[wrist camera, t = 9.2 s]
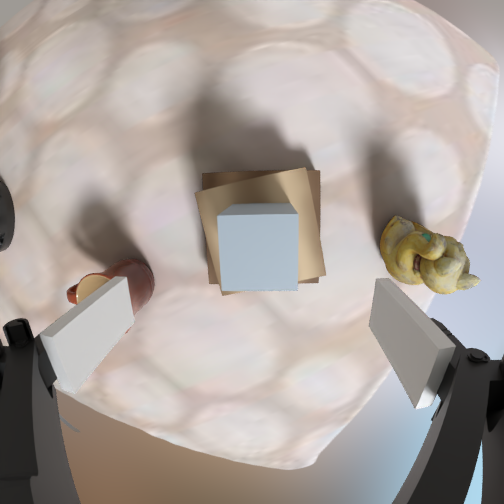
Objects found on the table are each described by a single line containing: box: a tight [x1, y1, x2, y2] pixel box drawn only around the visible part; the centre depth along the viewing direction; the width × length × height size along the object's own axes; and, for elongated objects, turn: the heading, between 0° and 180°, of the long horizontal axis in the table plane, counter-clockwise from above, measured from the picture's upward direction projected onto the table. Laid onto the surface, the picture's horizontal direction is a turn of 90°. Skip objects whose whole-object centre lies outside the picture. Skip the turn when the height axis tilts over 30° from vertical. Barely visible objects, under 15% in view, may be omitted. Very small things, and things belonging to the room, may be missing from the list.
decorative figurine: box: [380, 215, 481, 294], centre depth 30 cm, size 10×8×15 cm
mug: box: [67, 258, 155, 333], centre depth 36 cm, size 12×9×10 cm
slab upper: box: [195, 167, 326, 296], centre depth 32 cm, size 12×12×4 cm
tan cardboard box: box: [202, 170, 320, 284], centre depth 36 cm, size 14×14×4 cm
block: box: [217, 203, 299, 291], centre depth 26 cm, size 6×6×9 cm
